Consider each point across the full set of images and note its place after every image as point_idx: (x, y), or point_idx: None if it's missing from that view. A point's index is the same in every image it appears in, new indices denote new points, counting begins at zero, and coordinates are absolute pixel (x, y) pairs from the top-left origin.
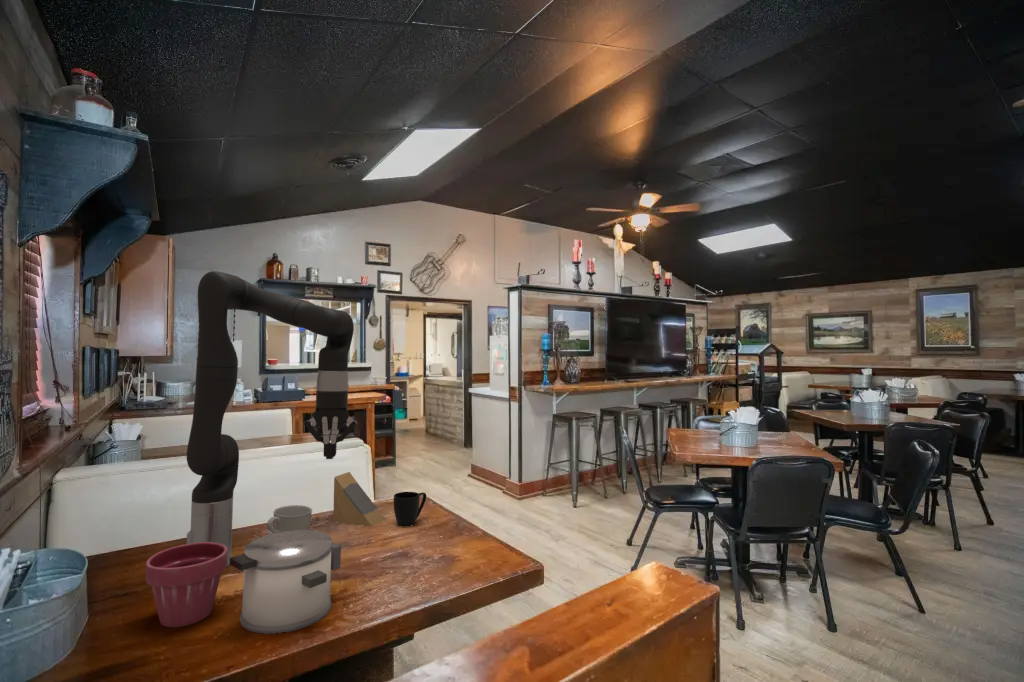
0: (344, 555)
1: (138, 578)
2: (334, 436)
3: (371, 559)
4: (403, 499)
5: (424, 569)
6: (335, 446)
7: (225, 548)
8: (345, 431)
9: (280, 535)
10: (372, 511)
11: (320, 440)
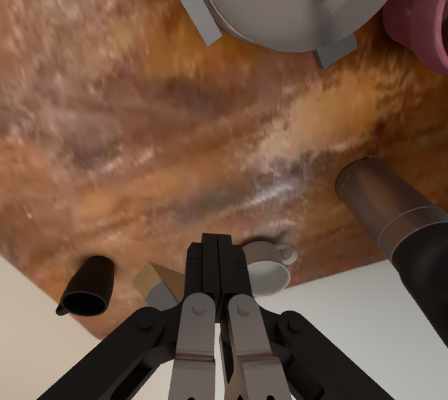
0: (182, 176)
1: (441, 164)
2: (191, 343)
3: (136, 150)
4: (87, 290)
5: (25, 79)
6: (186, 284)
7: (443, 7)
8: (93, 390)
9: (328, 12)
10: (150, 290)
11: (280, 316)
